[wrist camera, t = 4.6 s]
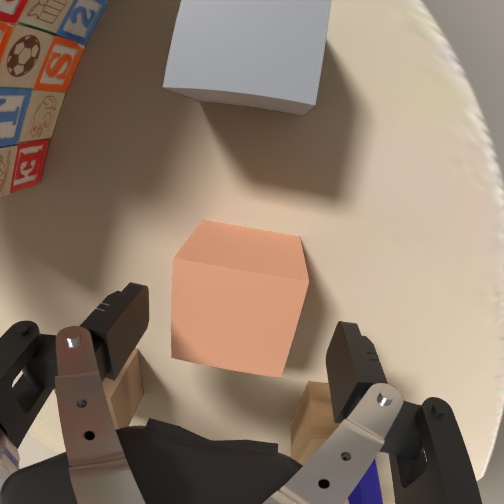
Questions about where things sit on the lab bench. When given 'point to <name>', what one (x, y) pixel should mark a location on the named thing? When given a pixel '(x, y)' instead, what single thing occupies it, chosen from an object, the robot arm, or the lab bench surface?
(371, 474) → the blue cradle bracket
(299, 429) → the oak block
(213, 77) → the gray block
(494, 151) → the lab bench surface
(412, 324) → the lab bench surface
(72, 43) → the stack of blocks
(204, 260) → the terracotta block
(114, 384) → the tan block
